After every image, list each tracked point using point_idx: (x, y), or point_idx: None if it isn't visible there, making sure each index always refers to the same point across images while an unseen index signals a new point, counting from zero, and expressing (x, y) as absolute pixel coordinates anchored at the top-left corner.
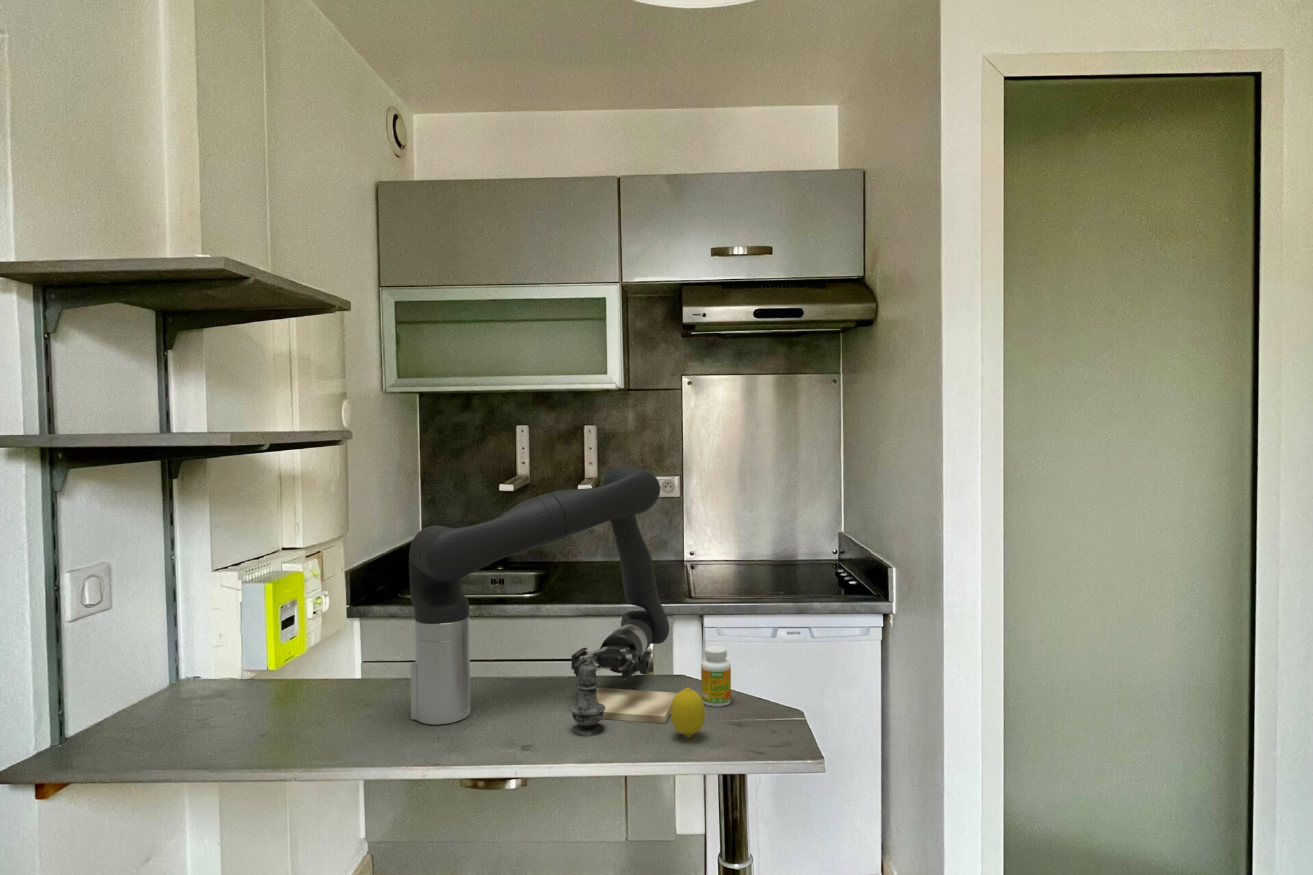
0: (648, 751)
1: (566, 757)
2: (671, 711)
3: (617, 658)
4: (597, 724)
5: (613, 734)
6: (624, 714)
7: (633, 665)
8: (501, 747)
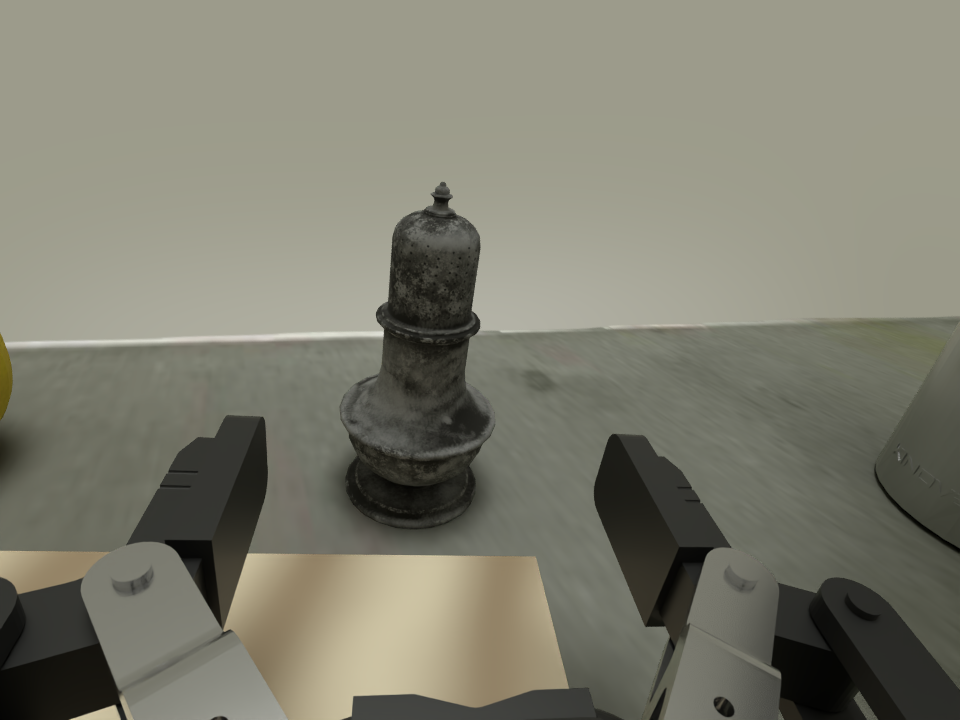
0: (159, 380)
1: None
2: (3, 348)
3: (365, 706)
4: (379, 489)
5: (296, 457)
6: (255, 556)
7: (141, 522)
8: (598, 378)
